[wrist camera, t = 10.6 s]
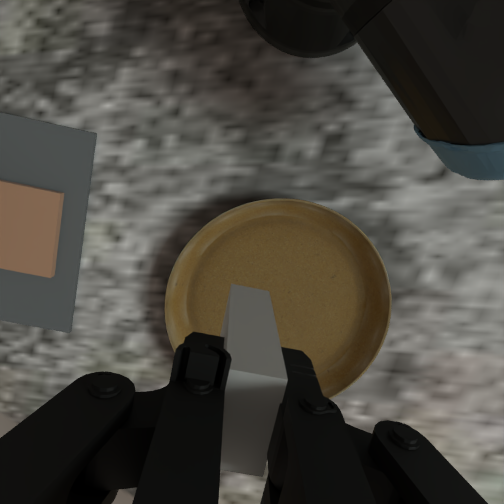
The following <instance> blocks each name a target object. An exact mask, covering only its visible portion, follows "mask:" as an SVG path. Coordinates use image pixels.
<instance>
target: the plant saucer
mask: <svg viewBox="0 0 504 504" xmlns="http://www.w3.org/2000/svg"><path fill="white" fill-rule="evenodd" d="M231 284H235V285H241V286H246V287H251V288H256V289H261V290H266V291H269V293H270V297H271V302H272V307H273V312H274V316H275V321H276V326H277V331H278V335H279V340H280V345H281V347H285V348H291V349H296V350H301V351H303V352H304V353H305V354H306V355H307V356H308V357H309V358H310V359H311V361H312V364H313V367H314V370H315V373H316V377H317V379H318V382H319V385H320V387H321V390H322V393H323V396H325V397H327V398H329V399H332V398H334V397H336V396H337V395H339V394H341V393H342V392H344V391H345V390H346V389H348V388H349V387H350V386H351V385H353V384H354V383H355V382H356V381H357V380H358V379H359V378H360V377H361V376H362V375H363V374H364V373H365V372H366V370H367V369H368V368H369V366H370V365H371V364H372V362H373V361H374V359H375V358H376V356H377V355H378V353H379V351H380V349H381V347H382V345H383V343H384V340H385V337H386V334H387V331H388V328H389V323H390V317H391V307H392V299H391V289H390V283H389V278H388V274H387V271H386V268H385V266H384V263H383V261H382V259H381V257H380V255H379V253H378V251H377V249H376V248H375V246H374V245H373V243H372V242H371V241H370V240H369V238H368V237H367V236H366V235H365V234H364V233H363V232H362V231H361V230H360V229H359V228H358V227H357V226H356V225H355V224H354V223H352V222H351V221H350V220H348V219H347V218H346V217H344V216H343V215H341V214H339V213H337V212H336V211H334V210H332V209H329V208H327V207H325V206H322V205H319V204H316V203H312V202H309V201H304V200H298V199H288V198H275V199H265V200H259V201H254V202H250V203H246V204H243V205H241V206H238V207H235V208H233V209H230V210H228V211H226V212H224V213H222V214H221V215H219V216H217V217H216V218H214V219H213V220H211V221H210V222H209V223H207V224H206V225H205V226H204V227H202V228H201V229H200V230H199V231H198V232H197V233H196V234H195V235H194V236H193V237H192V238H191V240H190V241H189V242H188V243H187V244H186V246H185V247H184V249H183V250H182V252H181V253H180V255H179V256H178V258H177V260H176V262H175V264H174V266H173V269H172V271H171V274H170V277H169V280H168V283H167V288H166V294H165V309H164V311H165V323H166V328H167V333H168V337H169V340H170V343H171V345H172V348H173V350H174V352H175V351H176V348H177V347H178V346H179V345H180V344H182V343H184V339H185V337H186V336H188V335H189V334H191V333H192V332H199V333H205V334H210V335H215V336H220V334H221V329H222V324H223V320H224V315H225V311H226V306H227V301H228V297H229V292H230V287H231Z"/></svg>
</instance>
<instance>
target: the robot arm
mask: <svg viewBox="0 0 504 504" xmlns="http://www.w3.org/2000/svg"><path fill="white" fill-rule="evenodd" d="M239 1H240V4H241V7H242V9H243V11H244V13H245V15H246V17H247V19H248V20H249V22H250V23H251V25H252V26H253V28H254V29H255V30H256V31H257V32H258V33H259V35H260V36H261V37H262V38H264V39H265V40H266V41H267V42H268V43H270V44H271V45H273V46H274V47H276V48H277V49H279V50H281V51H283V52H286V53H288V54H291V55H295V56H300V57H307V58H318V57H325V56H330V55H333V54H336V53H339V52H342V51H344V50H346V49H348V48H349V47H351V46H353V45H354V44H356V43H358V44H359V46H360V47H361V49H362V50H363V52H364V53H365V54H366V56H367V57H368V59H369V60H370V62H371V63H372V64H373V66H374V67H375V69H376V70H377V72H378V73H379V75H380V76H381V77H382V79H383V80H384V82H385V83H386V85H387V86H388V87H389V89H390V90H391V92H392V93H393V95H394V96H395V98H396V99H397V100H398V102H399V103H400V105H401V106H402V108H403V109H404V110H405V112H406V113H407V115H408V116H409V118H410V119H411V121H412V122H413V123H414V130H415V132H416V133H417V135H418V136H419V137H420V138H421V139H422V140H423V141H425V142H426V143H427V144H429V145H430V147H431V148H432V149H433V151H434V152H435V153H436V154H437V156H438V157H439V158H440V160H441V161H442V162H443V163H444V165H445V166H446V167H447V168H448V169H450V170H451V171H453V172H455V173H458V174H460V175H461V176H465V177H466V178H470V179H476V180H503V179H504V0H239ZM267 460H268V471H269V473H268V477H267V481H266V484H265V488H264V492H263V496H262V500H261V503H260V504H488V503H487V502H486V501H485V500H484V499H483V498H482V497H481V496H480V495H479V494H478V493H477V492H476V490H475V489H474V488H473V487H472V486H471V485H470V484H469V483H468V482H467V481H466V480H465V479H464V478H463V477H462V476H461V475H460V474H459V472H458V471H457V470H456V469H455V468H454V467H453V466H452V465H451V464H450V463H449V462H448V461H447V460H446V459H445V458H444V457H443V456H442V454H441V453H440V452H439V451H438V450H437V449H436V448H435V447H434V446H433V445H432V444H431V443H430V442H429V441H428V440H427V439H426V438H425V437H424V436H423V435H422V434H420V433H419V432H418V431H416V430H414V429H413V428H411V427H410V426H408V425H406V424H402V423H400V422H394V421H388V420H387V421H380V422H378V423H377V424H376V425H375V427H374V430H373V433H372V434H371V433H368V432H366V431H363V430H360V429H358V428H355V427H353V426H351V425H348V424H346V423H345V421H344V418H343V416H342V413H341V411H340V409H339V408H338V406H337V405H336V404H335V403H334V402H333V401H331V400H330V399H329V398H327V397H325V396H323V393H322V390H321V387H320V385H319V382H318V379H317V377H316V373H315V370H314V367H313V364H312V361H311V359H310V358H309V357H308V356H307V355H306V354H305V353H304V352H303V351H301V350H296V349H291V348H285V347H281V345H280V340H279V335H278V331H277V326H276V321H275V316H274V312H273V307H272V302H271V297H270V293H269V291H266V290H261V289H256V288H251V287H246V286H241V285H235V284H231V287H230V292H229V297H228V301H227V306H226V311H225V315H224V320H223V324H222V329H221V334H220V336H215V335H210V334H205V333H199V332H192V333H191V334H189V335H188V336H186V337H185V339H184V343H182V344H180V345H179V346H178V347H177V348H176V351H175V356H174V361H173V367H172V372H171V377H170V382H169V384H168V385H167V386H165V387H163V388H161V389H158V390H154V391H147V392H135V386H134V384H133V383H132V381H131V380H130V379H129V378H127V377H124V376H122V375H120V374H116V373H112V372H95V373H90V374H86V375H84V376H82V377H80V378H78V379H76V380H75V381H74V382H73V383H71V384H70V385H69V386H67V387H66V388H65V389H63V390H62V391H61V392H60V393H58V394H57V395H56V396H54V397H53V398H52V399H51V400H49V401H48V402H47V403H45V404H44V405H43V406H41V407H40V408H39V409H38V410H36V411H35V412H34V413H32V414H31V415H30V416H28V417H27V418H26V419H25V420H23V421H22V422H21V423H19V424H18V425H17V426H15V427H14V428H13V429H12V430H11V431H9V432H8V433H6V434H5V435H4V436H3V437H1V438H0V504H111V503H112V502H113V501H114V499H115V497H116V495H117V492H118V489H126V488H135V487H137V490H136V493H135V497H134V500H133V503H132V504H218V498H219V482H220V470H224V471H230V472H237V473H243V474H249V475H255V476H261V477H263V474H264V470H265V466H266V462H267Z"/></svg>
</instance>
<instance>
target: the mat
mask: <svg viewBox="0 0 504 504" xmlns="http://www.w3.org/2000/svg"><path fill="white" fill-rule="evenodd" d="M96 137H97V133H92V132H88V131H83V130H79V129H74V128H69V127H65V126H60V125H56V124H51V123H47V122H42V121H38V120H33V119H29V118H24V117H19V116H15V115H10V114H6V113H1V112H0V179H1V180H6V181H10V182H15V183H20V184H25V185H30V186H34V187H39V188H44V189H49V190H54V191H58V192H63V193H64V200H63V208H62V217H61V225H60V234H59V242H58V251H57V259H56V268H55V275H54V276H53V277H51V278H47V277H42V276H37V275H32V274H27V273H22V272H16V271H11V270H6V269H1V268H0V320H2V321H7V322H13V323H18V324H24V325H29V326H34V327H40V328H45V329H51V330H56V331H62V332H67V333H70V332H71V328H72V321H73V313H74V305H75V298H76V290H77V282H78V275H79V267H80V259H81V252H82V244H83V236H84V229H85V221H86V213H87V206H88V198H89V190H90V183H91V175H92V167H93V160H94V152H95V144H96Z"/></svg>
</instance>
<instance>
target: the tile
mask: <svg viewBox="0 0 504 504" xmlns="http://www.w3.org/2000/svg"><path fill="white" fill-rule="evenodd" d="M63 200H64V193H63V192H58V191H54V190H49V189H44V188H39V187H34V186H30V185H25V184H20V183H15V182H10V181H6V180H1V179H0V268H1V269H6V270H11V271H16V272H22V273H27V274H32V275H37V276H42V277H47V278H51V277H53V276H54V275H55V268H56V259H57V251H58V242H59V234H60V225H61V217H62V208H63Z"/></svg>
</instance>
